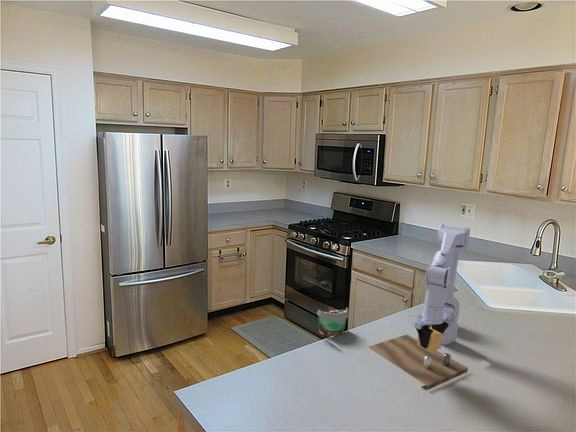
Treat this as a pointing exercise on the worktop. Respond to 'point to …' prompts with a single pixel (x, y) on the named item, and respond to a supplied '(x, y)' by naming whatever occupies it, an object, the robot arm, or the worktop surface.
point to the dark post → (446, 359)
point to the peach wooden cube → (433, 341)
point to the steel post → (427, 362)
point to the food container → (332, 322)
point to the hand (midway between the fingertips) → (429, 344)
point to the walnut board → (418, 361)
